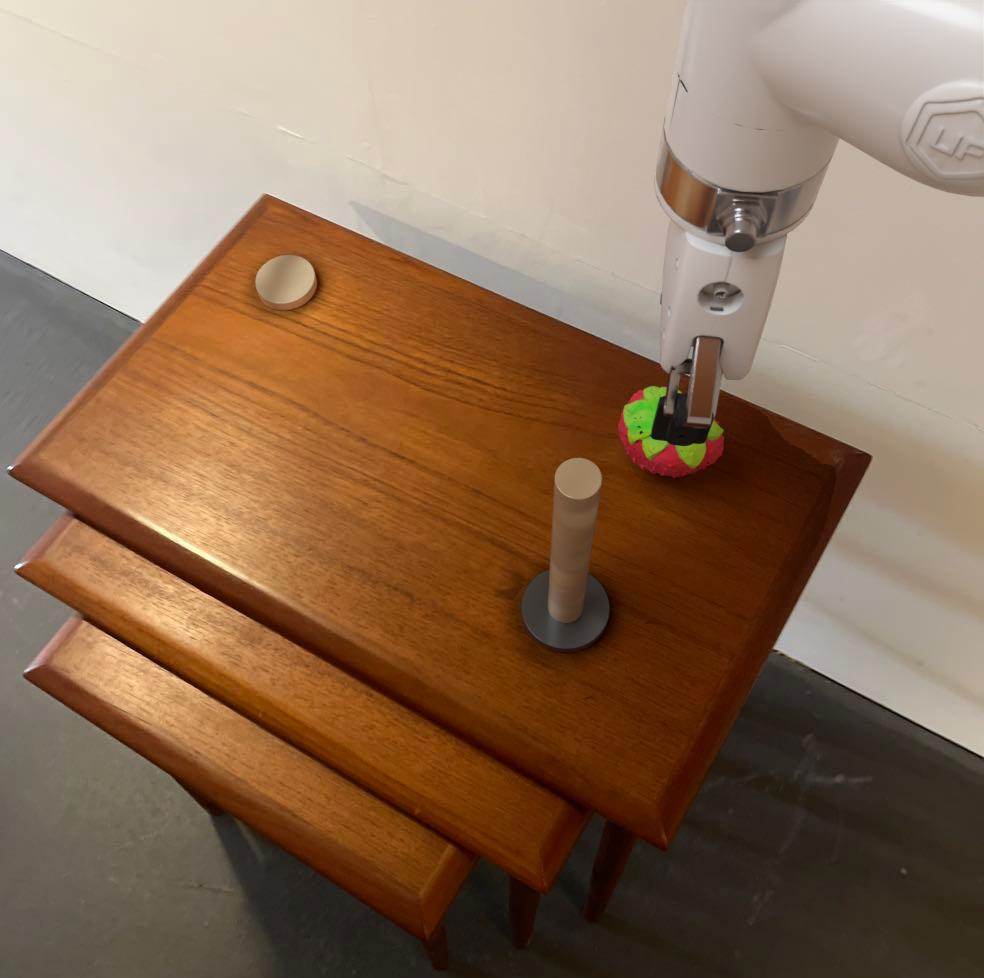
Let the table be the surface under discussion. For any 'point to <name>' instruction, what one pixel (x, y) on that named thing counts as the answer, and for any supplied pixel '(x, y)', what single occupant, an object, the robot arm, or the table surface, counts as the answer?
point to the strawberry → (661, 453)
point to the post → (569, 567)
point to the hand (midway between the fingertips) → (681, 369)
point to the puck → (286, 282)
